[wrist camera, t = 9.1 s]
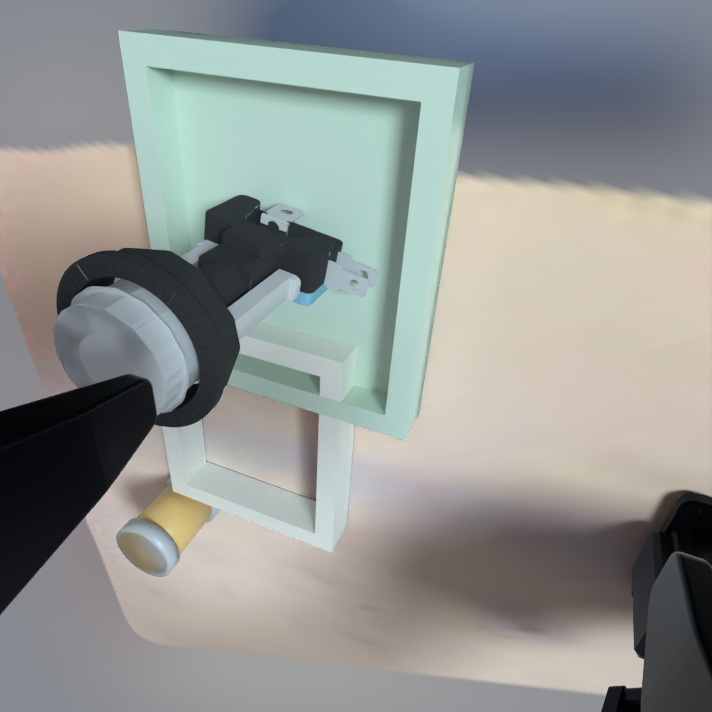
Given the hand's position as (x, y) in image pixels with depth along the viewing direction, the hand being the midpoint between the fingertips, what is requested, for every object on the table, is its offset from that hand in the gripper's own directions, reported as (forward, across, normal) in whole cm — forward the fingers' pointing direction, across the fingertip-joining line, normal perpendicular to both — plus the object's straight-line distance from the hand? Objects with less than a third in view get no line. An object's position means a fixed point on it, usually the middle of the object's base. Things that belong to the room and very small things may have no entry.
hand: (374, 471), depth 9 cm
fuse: (+13, +15, +20) cm, 28 cm away
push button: (+13, +8, +2) cm, 15 cm away
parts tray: (+13, +8, +2) cm, 15 cm away
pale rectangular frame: (+13, +10, +12) cm, 20 cm away
